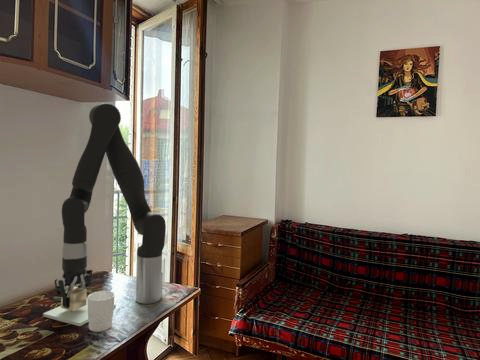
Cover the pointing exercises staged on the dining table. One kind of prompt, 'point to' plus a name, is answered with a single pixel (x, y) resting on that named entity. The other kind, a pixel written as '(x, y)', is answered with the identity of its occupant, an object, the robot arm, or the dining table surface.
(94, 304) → the white cup
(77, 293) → the beech cube
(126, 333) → the dining table surface
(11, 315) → the dining table surface
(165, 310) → the dining table surface
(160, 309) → the dining table surface
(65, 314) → the sage board
